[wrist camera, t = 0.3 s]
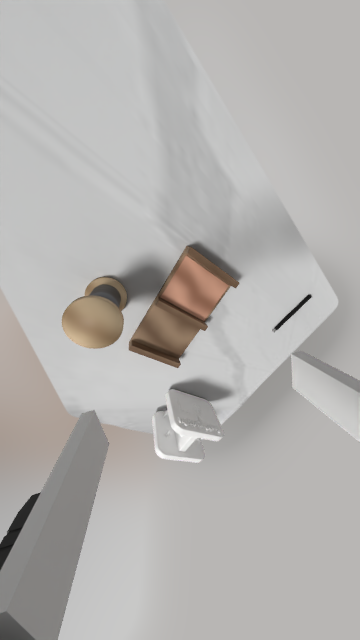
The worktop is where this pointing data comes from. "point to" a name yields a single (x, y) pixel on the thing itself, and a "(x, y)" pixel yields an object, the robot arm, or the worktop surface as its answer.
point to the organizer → (184, 427)
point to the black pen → (292, 312)
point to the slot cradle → (181, 308)
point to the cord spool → (96, 314)
